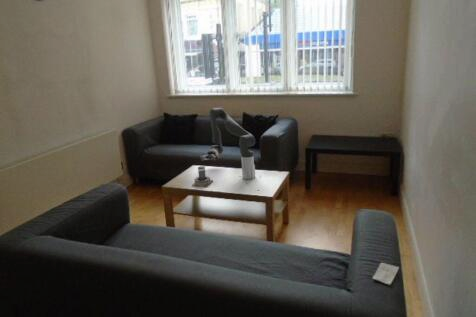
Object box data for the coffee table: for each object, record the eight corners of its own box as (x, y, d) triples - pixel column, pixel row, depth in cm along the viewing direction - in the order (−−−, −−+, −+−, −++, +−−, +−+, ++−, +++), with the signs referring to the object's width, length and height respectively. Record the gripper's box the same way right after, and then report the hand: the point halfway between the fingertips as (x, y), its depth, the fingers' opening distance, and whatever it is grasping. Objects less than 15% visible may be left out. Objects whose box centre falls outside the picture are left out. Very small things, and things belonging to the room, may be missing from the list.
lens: (207, 181, 281) (205, 166, 278) (204, 183, 276) (202, 168, 273) (201, 181, 283) (199, 166, 279) (198, 183, 278) (196, 168, 275)
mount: (213, 181, 283) (212, 176, 282) (206, 187, 272) (206, 182, 271) (199, 180, 287) (198, 175, 286) (191, 186, 276) (191, 180, 275)
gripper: (203, 150, 303) (198, 155, 288) (220, 149, 300) (216, 154, 285) (204, 159, 305) (198, 164, 290) (221, 158, 302) (216, 164, 287)
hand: (207, 159), depth 287 cm, fingers open, 8 cm apart
